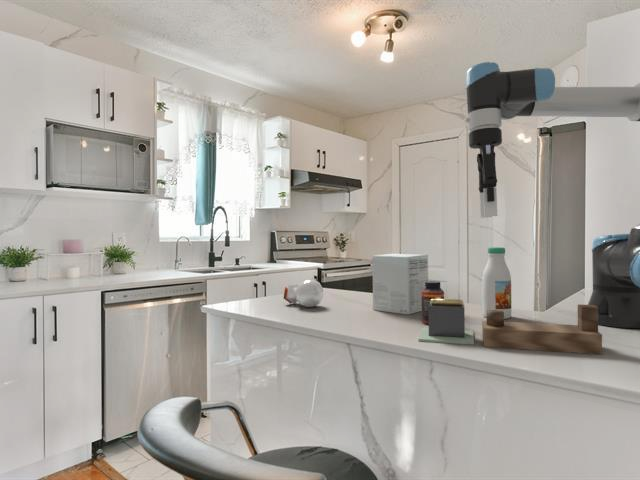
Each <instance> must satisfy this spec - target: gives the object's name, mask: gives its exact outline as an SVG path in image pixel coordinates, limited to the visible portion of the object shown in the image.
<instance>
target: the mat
mask: <svg viewBox="0 0 640 480" xmlns="http://www.w3.org/2000/svg"><path fill="white" fill-rule="evenodd" d="M417 340H418V342H428V343H429V342H430V343H443V344H454V345H455V344H457V345H458V344H459V345H471V346H472V345H473V346H474V345H475V337H474V330H473V329H465V338H456V337H440V336H429V327H426V326H425V327H422V329H421V332H420V334H419V337H418V339H417Z"/></svg>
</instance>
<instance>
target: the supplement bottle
mask: <svg viewBox="0 0 640 480" xmlns="http://www.w3.org/2000/svg"><path fill="white" fill-rule="evenodd" d="M425 287H426V288H425V289H423V290H422V311H421V322H422V323H423V324H425V325H429V310H428V306H429V303H430V300H431V299H445V291H444V290H443V289H442V288H441V281H439V280H438V281H437V280H428V281H426V282H425Z"/></svg>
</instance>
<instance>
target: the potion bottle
mask: <svg viewBox="0 0 640 480" xmlns="http://www.w3.org/2000/svg"><path fill="white" fill-rule="evenodd" d="M324 295H325V294H324V288H323V286H322V285H321V283H320V281H317V280H314V279H311V278H310V279H304V280H303V281H301V282H298V284H294V285H288V286H285V287H284V293H283V300H285V301H287V302H288V303H289V304H293V305H296V304H297V302H298V304H299V305H301V306H302V307H305V308H307V307H310V308H314V306H315V307H317V306H318V305H320V304H321V303H322V301H323V298H324Z"/></svg>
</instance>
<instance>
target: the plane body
mask: <svg viewBox="0 0 640 480" xmlns="http://www.w3.org/2000/svg"><path fill="white" fill-rule="evenodd" d="M482 342H483V346H484V348H485V347H486V348H487V347H488V348H497V349H499V348H500V349H502V348H503V349H513V350H514V349H515V350H516V349H517V350H530V351H544V352H556V351H558V352H559V351H560V352H559V353H571V352H577V353H576V354H586V353H590V355H601V354H602V355H603V334H602V333H600V332H599V324H598V307H596V306H595V305H588V304H577V324H562V323H561V324H557V323H539V322H537V323H536V322H519V321H505V319H504V312H503V311H500V310H487V317H486V320H482ZM558 352H557V353H558ZM591 353H592V354H591Z"/></svg>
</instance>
